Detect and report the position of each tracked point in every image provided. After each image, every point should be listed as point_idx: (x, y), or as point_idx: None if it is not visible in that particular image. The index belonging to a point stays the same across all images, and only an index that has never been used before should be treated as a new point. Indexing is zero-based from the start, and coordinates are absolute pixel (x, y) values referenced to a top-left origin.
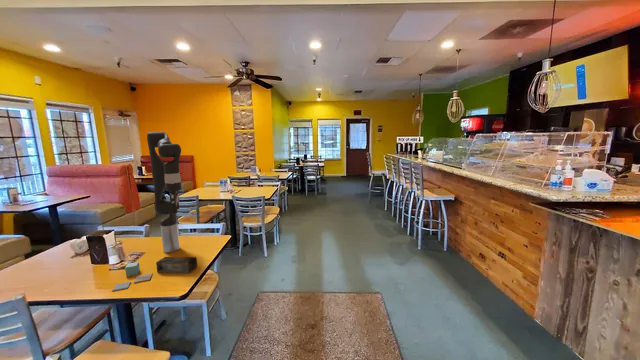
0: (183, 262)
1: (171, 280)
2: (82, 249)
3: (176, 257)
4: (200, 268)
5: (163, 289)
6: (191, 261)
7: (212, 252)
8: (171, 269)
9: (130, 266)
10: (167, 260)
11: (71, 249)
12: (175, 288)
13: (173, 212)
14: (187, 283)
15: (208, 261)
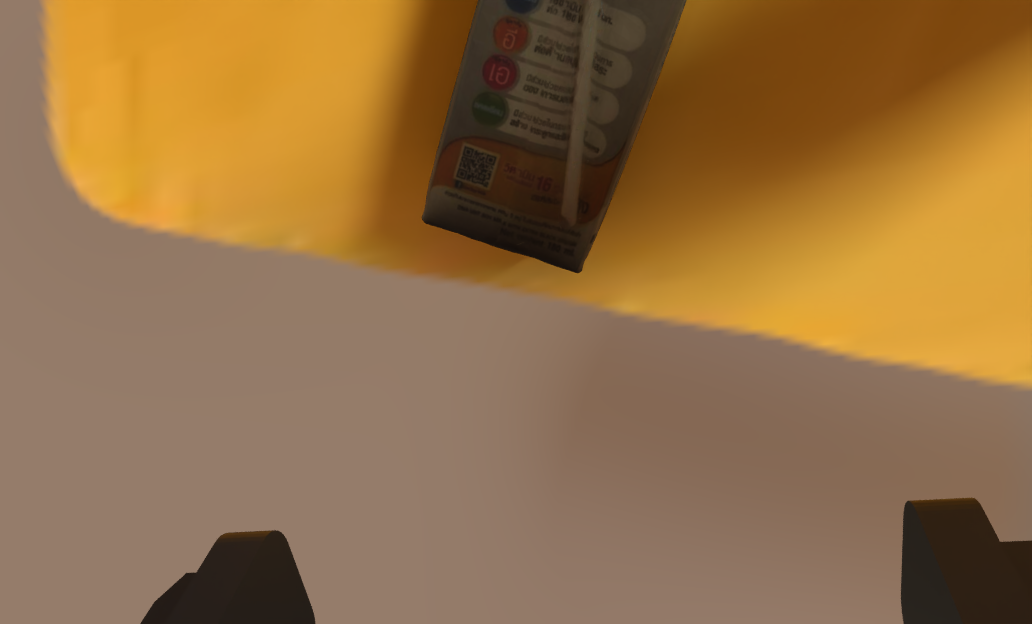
0: (439, 162)
1: (317, 27)
2: None
3: (651, 17)
4: (535, 264)
5: (147, 2)
6: (473, 238)
7: (954, 331)
8: None
9: None
10: None
11: None
12: (161, 115)
13: (183, 585)
14: (242, 201)
15: (691, 317)
